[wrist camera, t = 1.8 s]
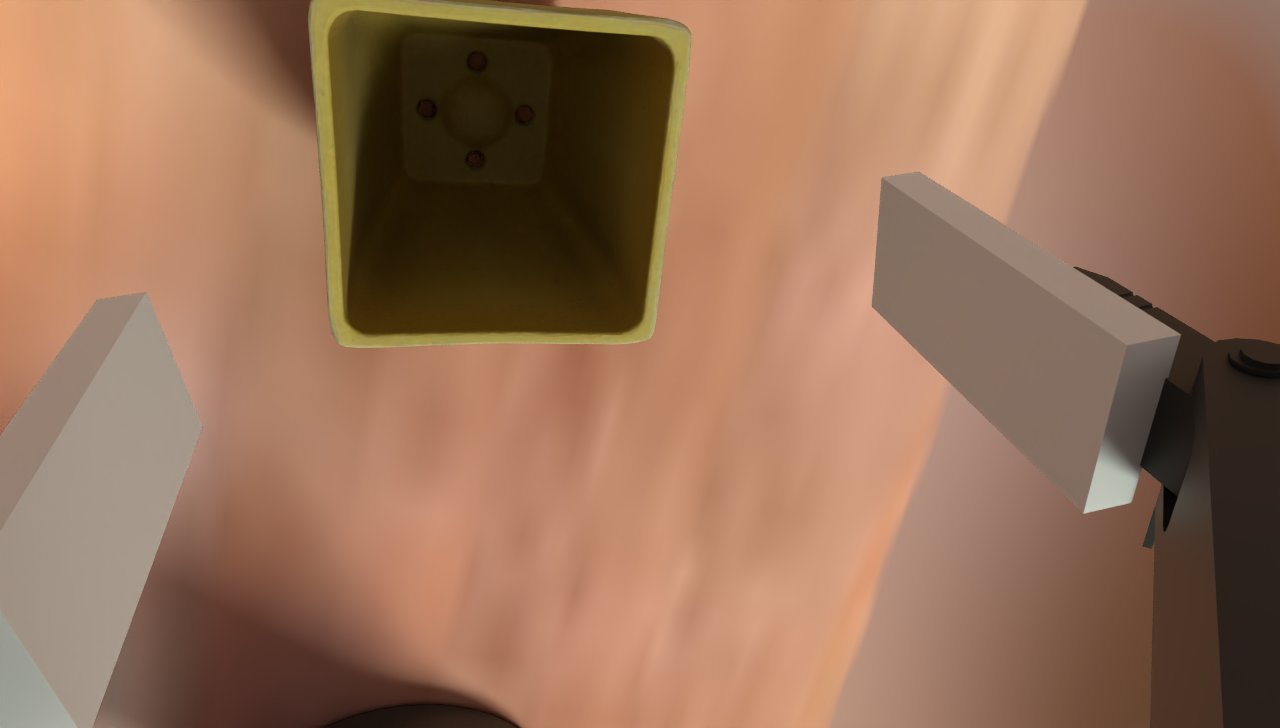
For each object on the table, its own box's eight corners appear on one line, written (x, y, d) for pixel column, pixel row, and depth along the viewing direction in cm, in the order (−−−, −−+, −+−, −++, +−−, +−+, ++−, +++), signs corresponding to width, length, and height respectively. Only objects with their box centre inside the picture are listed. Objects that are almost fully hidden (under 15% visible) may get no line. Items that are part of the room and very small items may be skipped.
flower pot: (619, -19, 28) (698, 23, 20) (596, 234, 32) (654, 347, 25) (334, -49, 26) (304, -13, 18) (349, 227, 30) (329, 350, 22)
